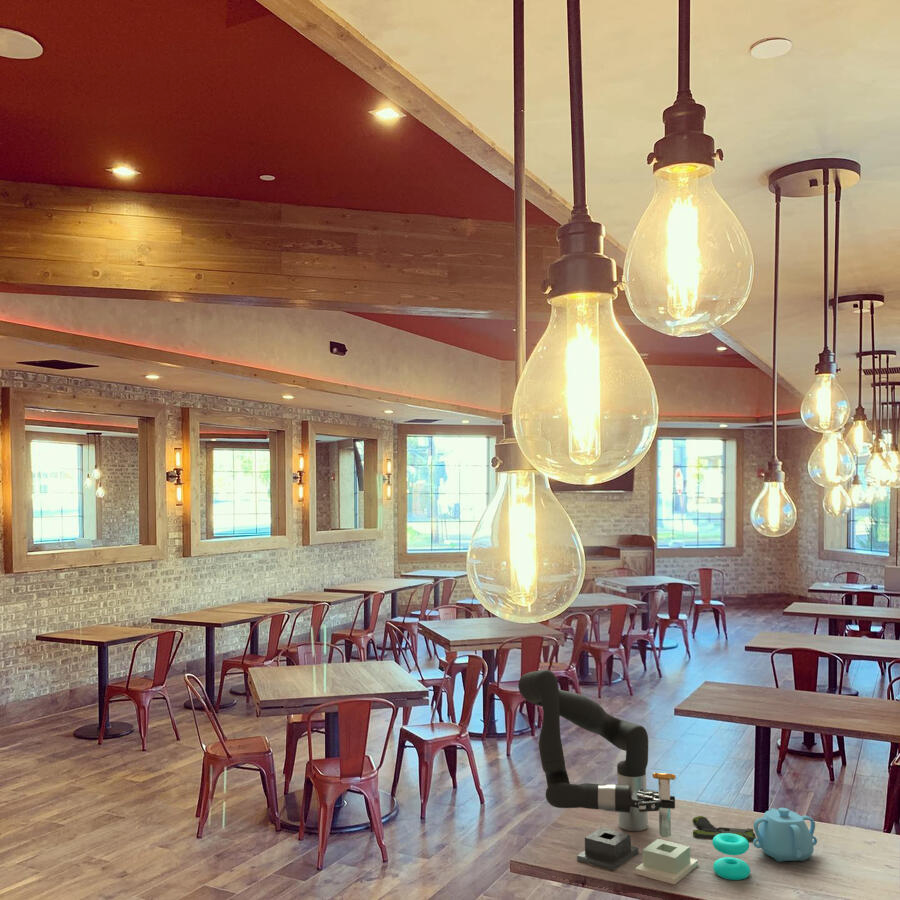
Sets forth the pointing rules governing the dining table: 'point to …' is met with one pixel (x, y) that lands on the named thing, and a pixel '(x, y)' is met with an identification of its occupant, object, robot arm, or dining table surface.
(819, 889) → the dining table surface
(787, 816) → the decorative pot
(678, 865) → the pale green socket base
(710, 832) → the gun
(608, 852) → the block
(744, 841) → the donuts
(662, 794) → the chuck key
